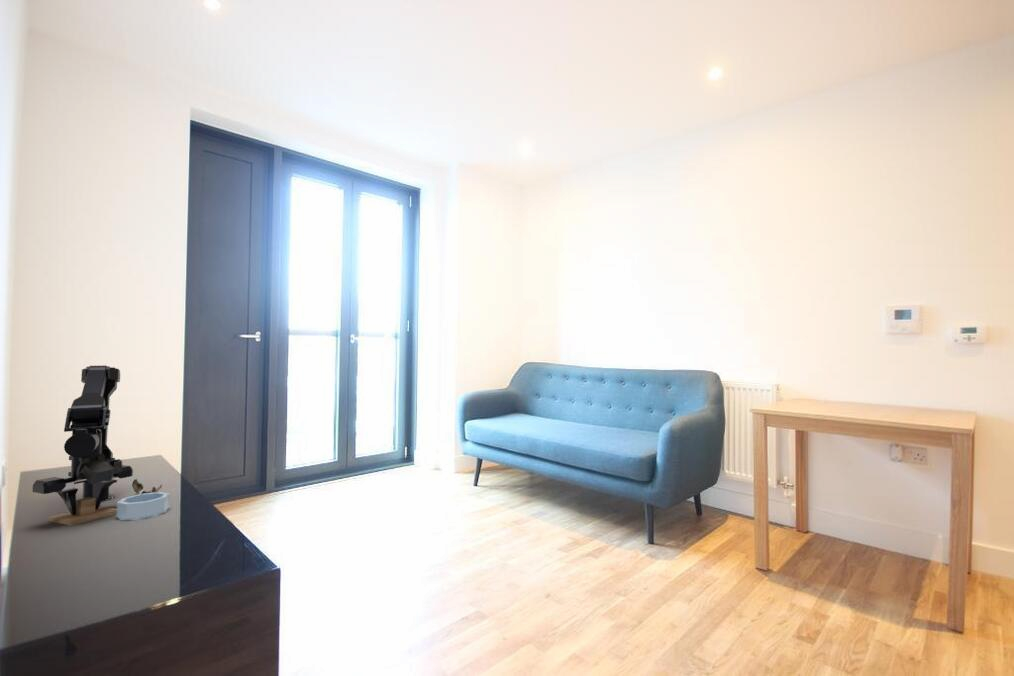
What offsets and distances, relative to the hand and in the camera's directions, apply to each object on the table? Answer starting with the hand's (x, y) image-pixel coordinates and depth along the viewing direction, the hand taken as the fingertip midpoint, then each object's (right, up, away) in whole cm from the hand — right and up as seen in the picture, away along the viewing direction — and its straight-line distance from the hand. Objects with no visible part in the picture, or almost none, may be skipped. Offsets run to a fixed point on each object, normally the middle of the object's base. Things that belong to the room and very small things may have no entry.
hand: (84, 512), depth 118 cm
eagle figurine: (+4, -3, +12) cm, 13 cm away
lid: (0, -1, 0) cm, 1 cm away
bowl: (+14, -2, +2) cm, 14 cm away
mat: (0, -2, 0) cm, 2 cm away
